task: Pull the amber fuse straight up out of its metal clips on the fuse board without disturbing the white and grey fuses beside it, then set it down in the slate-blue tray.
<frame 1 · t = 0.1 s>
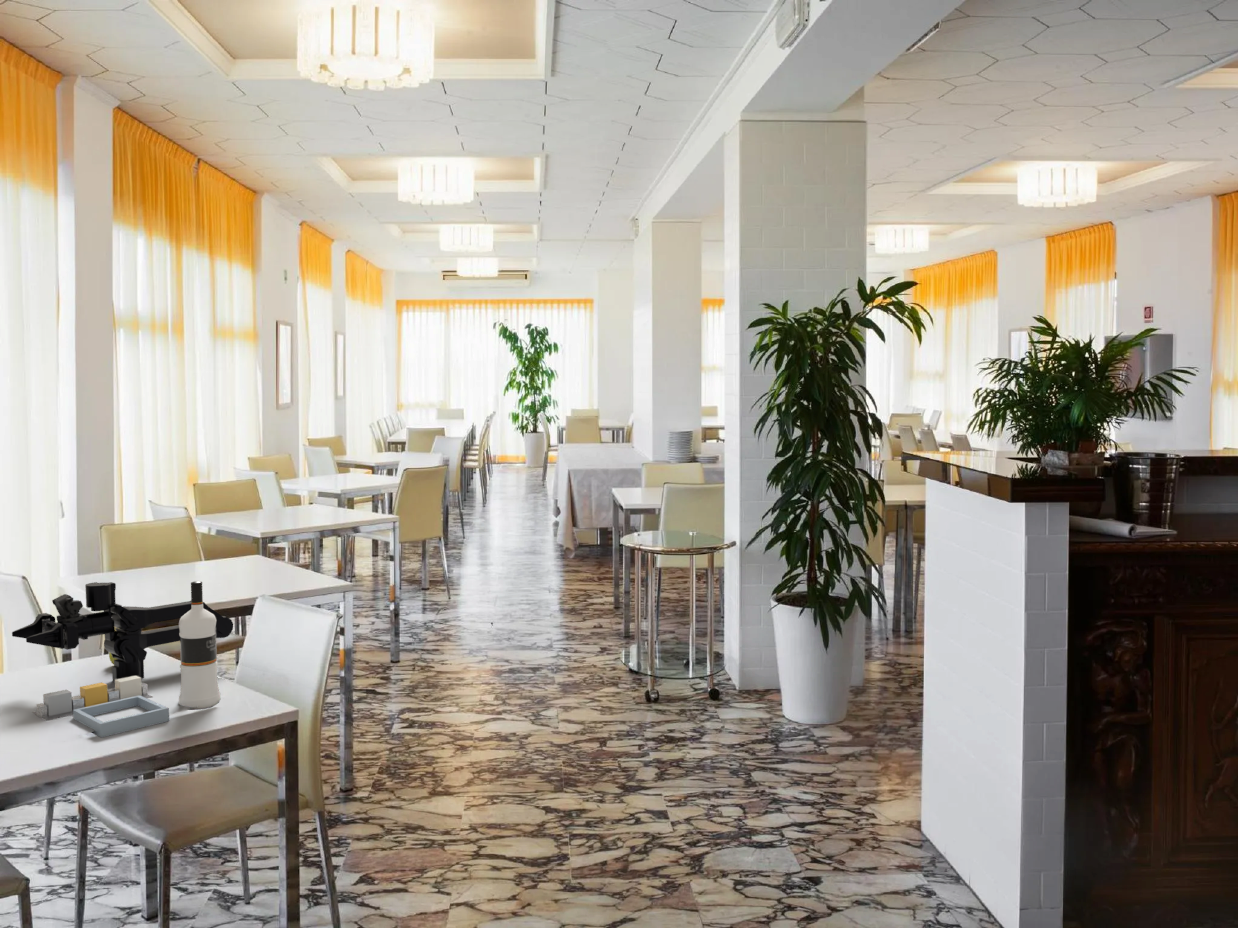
hand: (19, 636, 242), 17 cm above the table, tool horizontal, fingers open, 9 cm apart
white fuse: (128, 696, 247), point 1 cm above the table, touching fuse board
fuse board: (94, 708, 241), on the table
vodka: (200, 705, 244), on the table
grey fuse: (58, 712, 235), point 1 cm above the table, touching fuse board
amber fuse: (94, 704, 241), point 1 cm above the table, touching fuse board
fruit: (123, 666, 279), on the table
tray: (121, 721, 231), on the table
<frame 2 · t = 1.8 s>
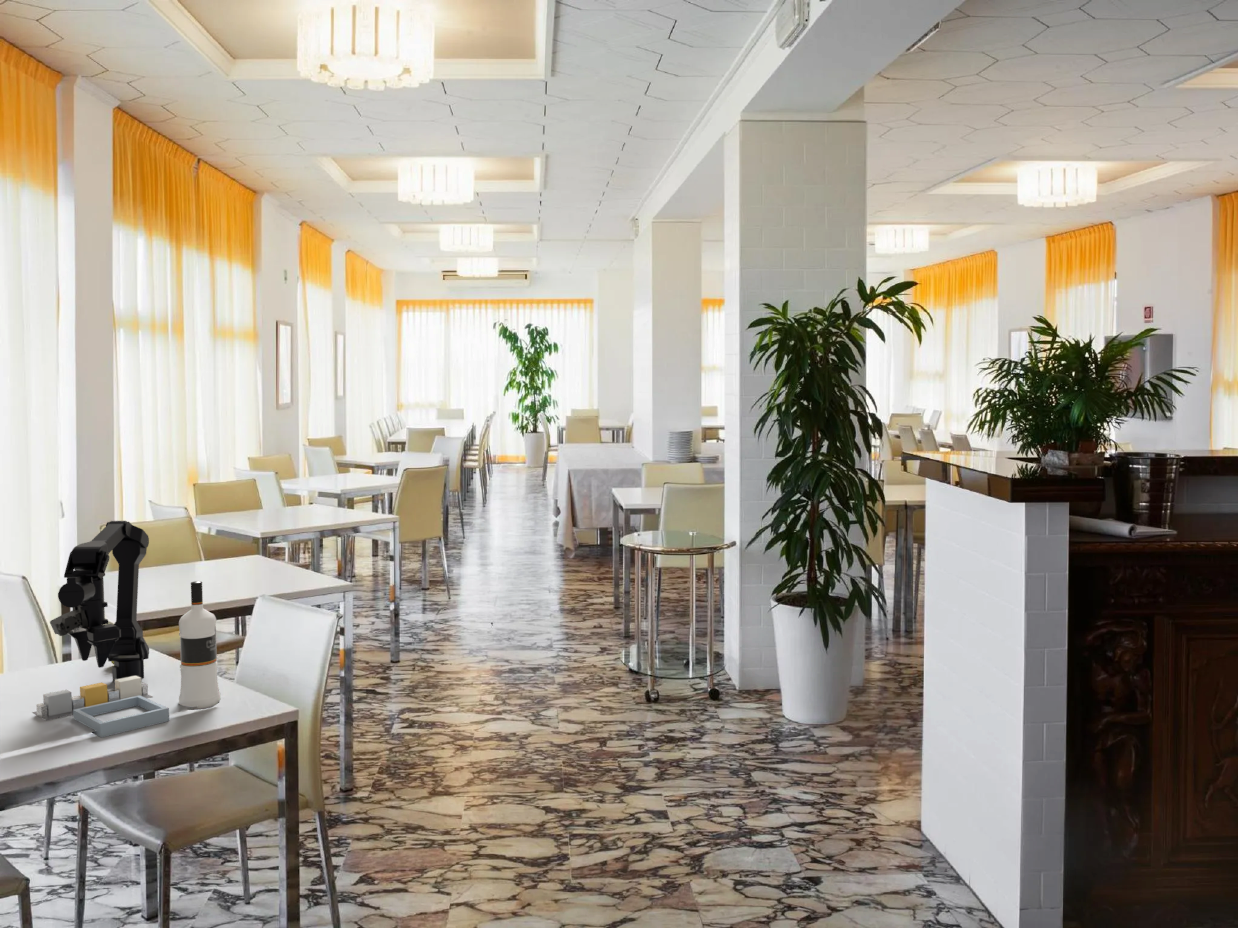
hand: (92, 663, 240), 11 cm above the table, tool pointing down, fingers open, 9 cm apart
nothing on the table moved.
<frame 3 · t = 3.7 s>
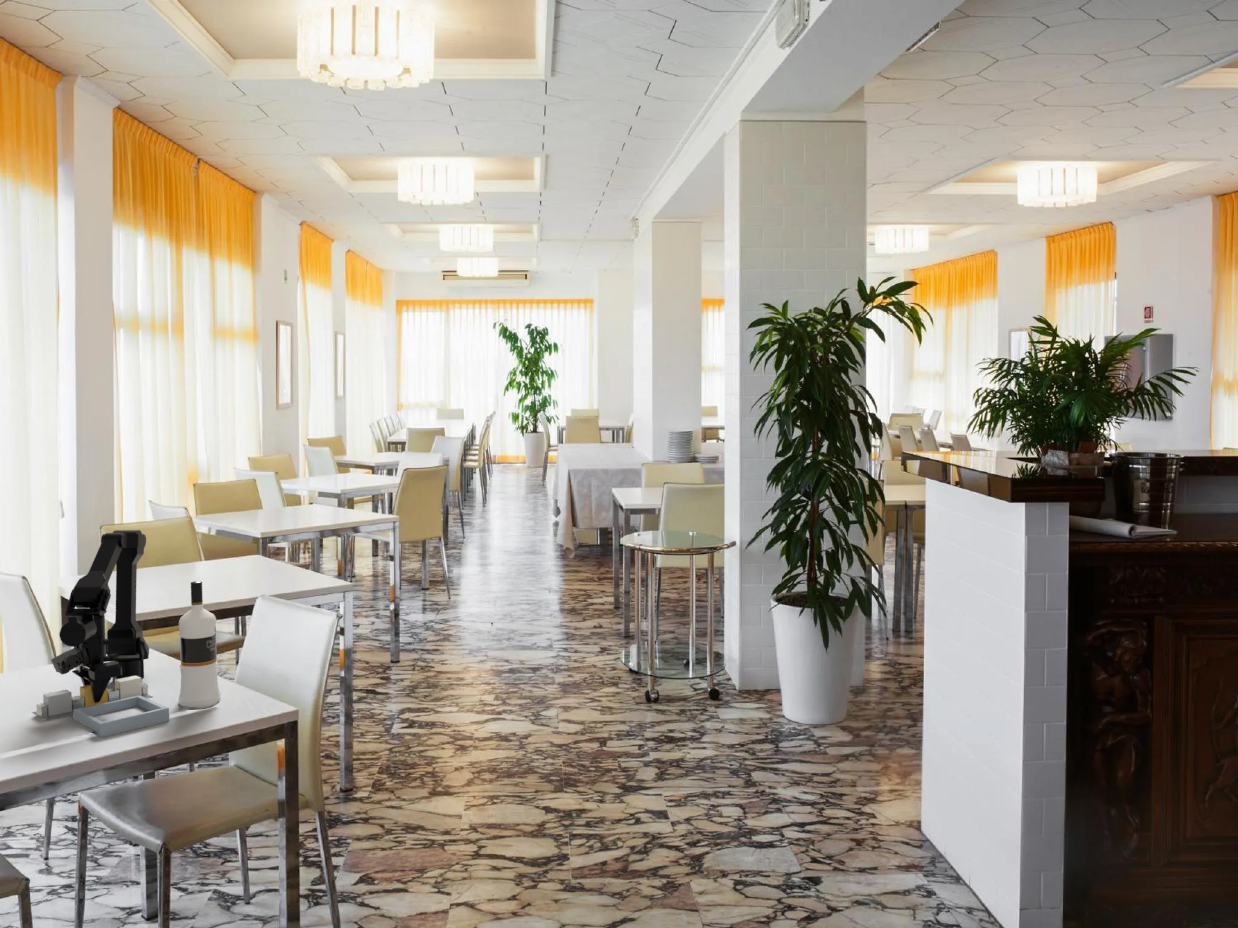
hand: (94, 700, 241), 2 cm above the table, tool pointing down, fingers closed on amber fuse, 3 cm apart
amber fuse: (94, 704, 241), point 1 cm above the table, touching fuse board, gripper
everything else where it was.
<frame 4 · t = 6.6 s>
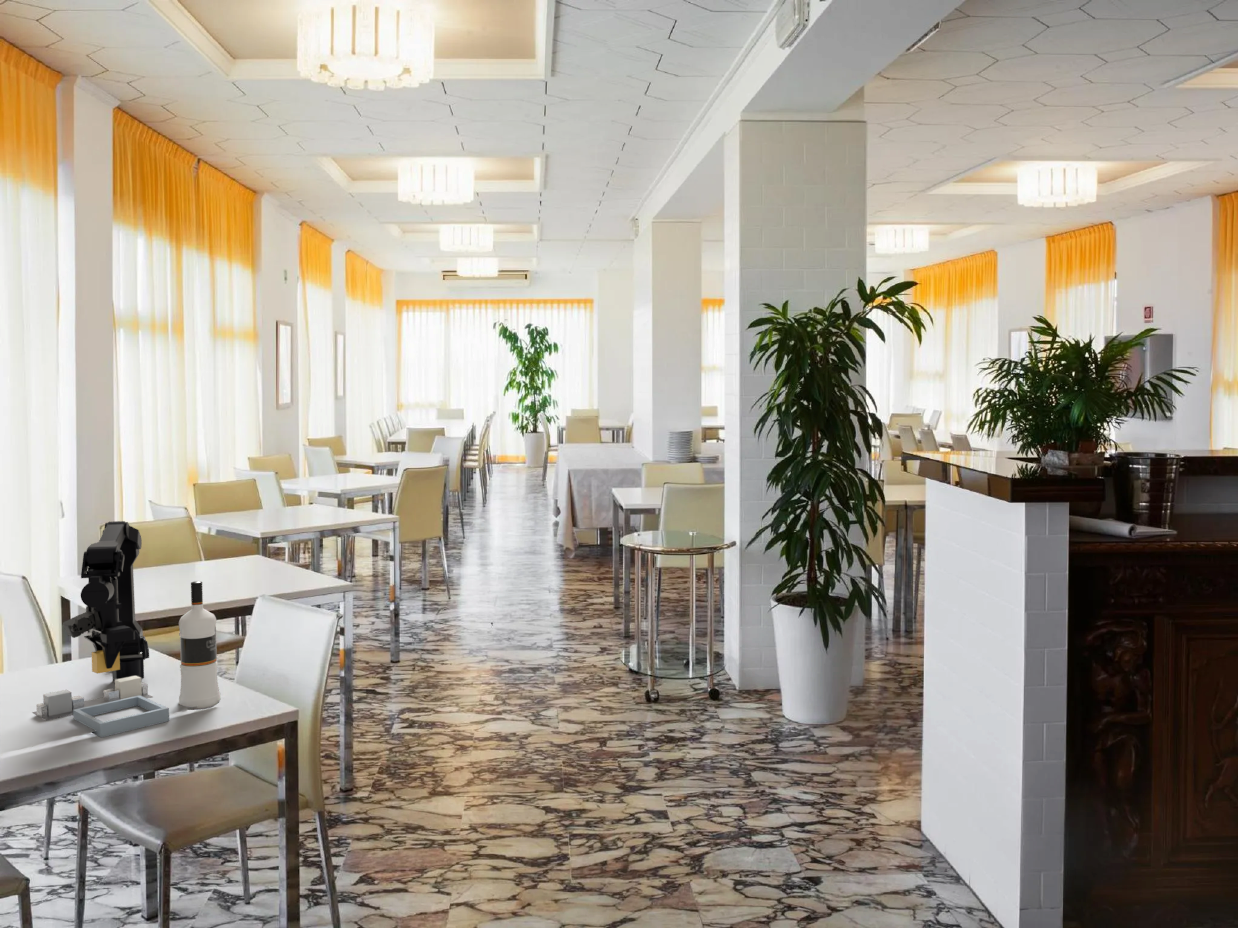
hand: (106, 666, 234), 12 cm above the table, tool pointing down, fingers closed on amber fuse, 3 cm apart
amber fuse: (106, 670, 234), point 11 cm above the table, touching gripper
everything else where it was.
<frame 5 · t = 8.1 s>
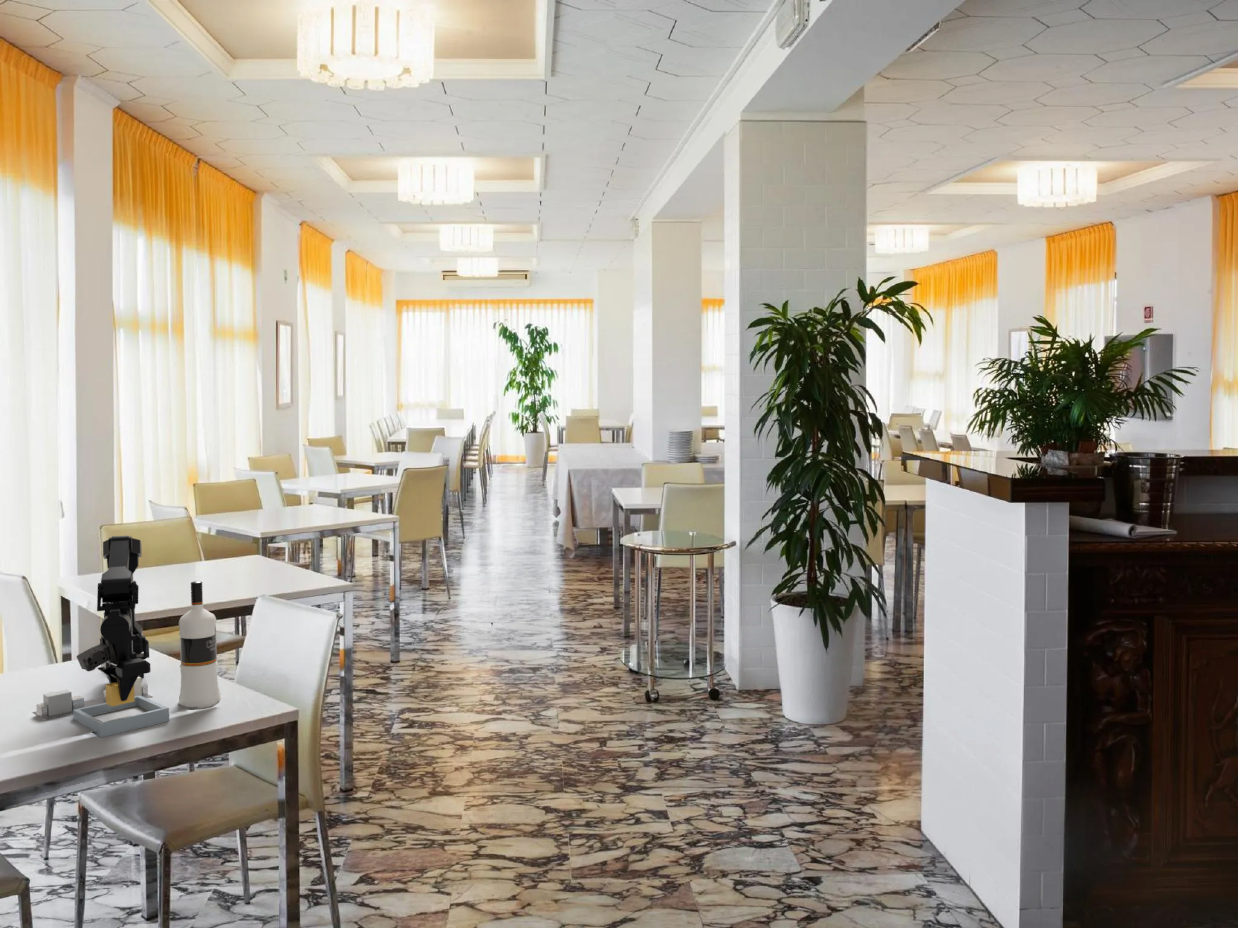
hand: (120, 699, 231), 5 cm above the table, tool pointing down, fingers closed on amber fuse, 3 cm apart
amber fuse: (120, 702, 231), point 4 cm above the table, touching gripper
everything else where it was.
when the fingers open (2 cm above the table, at t = 9.3 s): amber fuse stays where it is, resting on tray.
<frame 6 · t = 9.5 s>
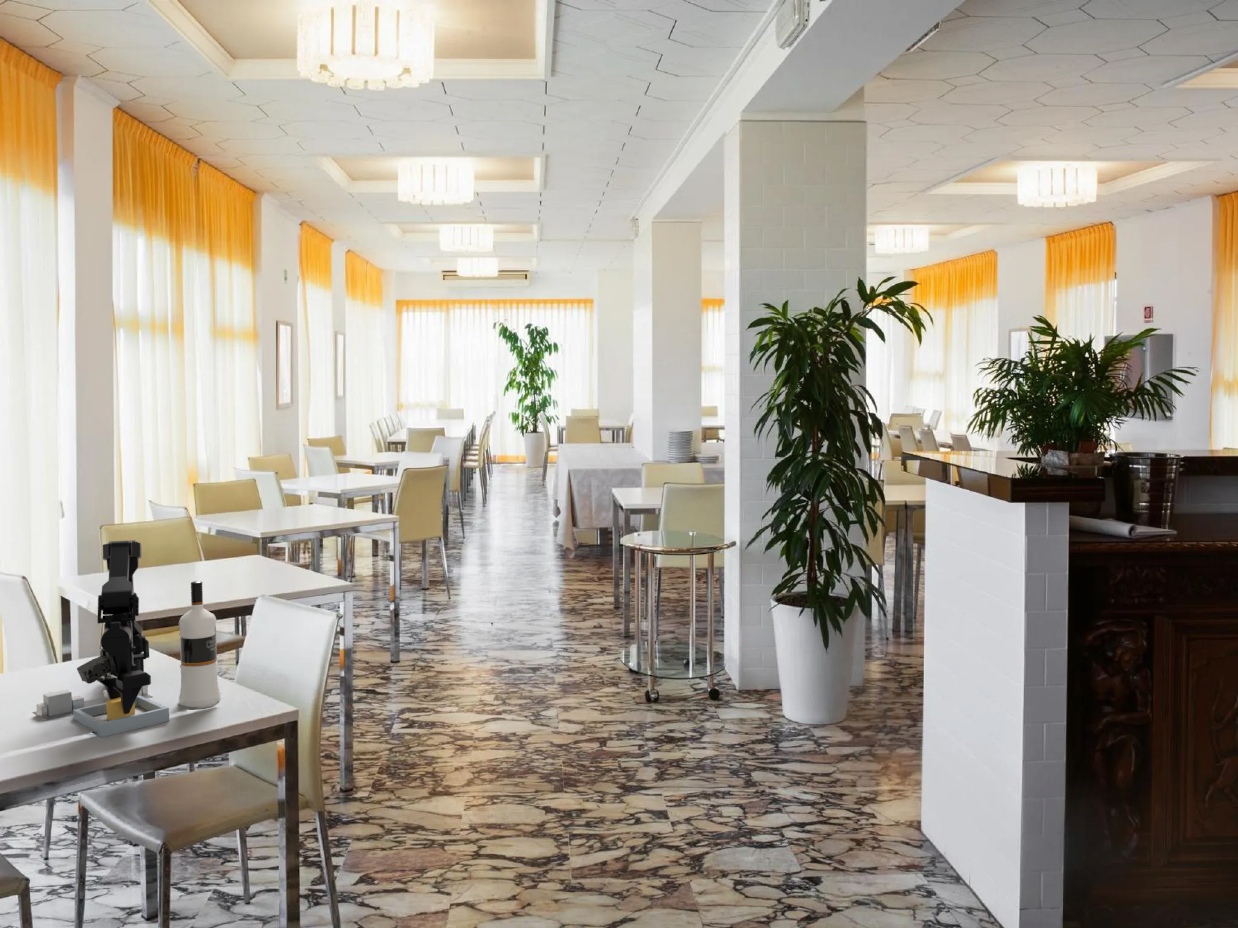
hand: (121, 710, 231), 2 cm above the table, tool pointing down, fingers open, 5 cm apart
amber fuse: (121, 718, 231), point 1 cm above the table, touching tray
everything else where it was.
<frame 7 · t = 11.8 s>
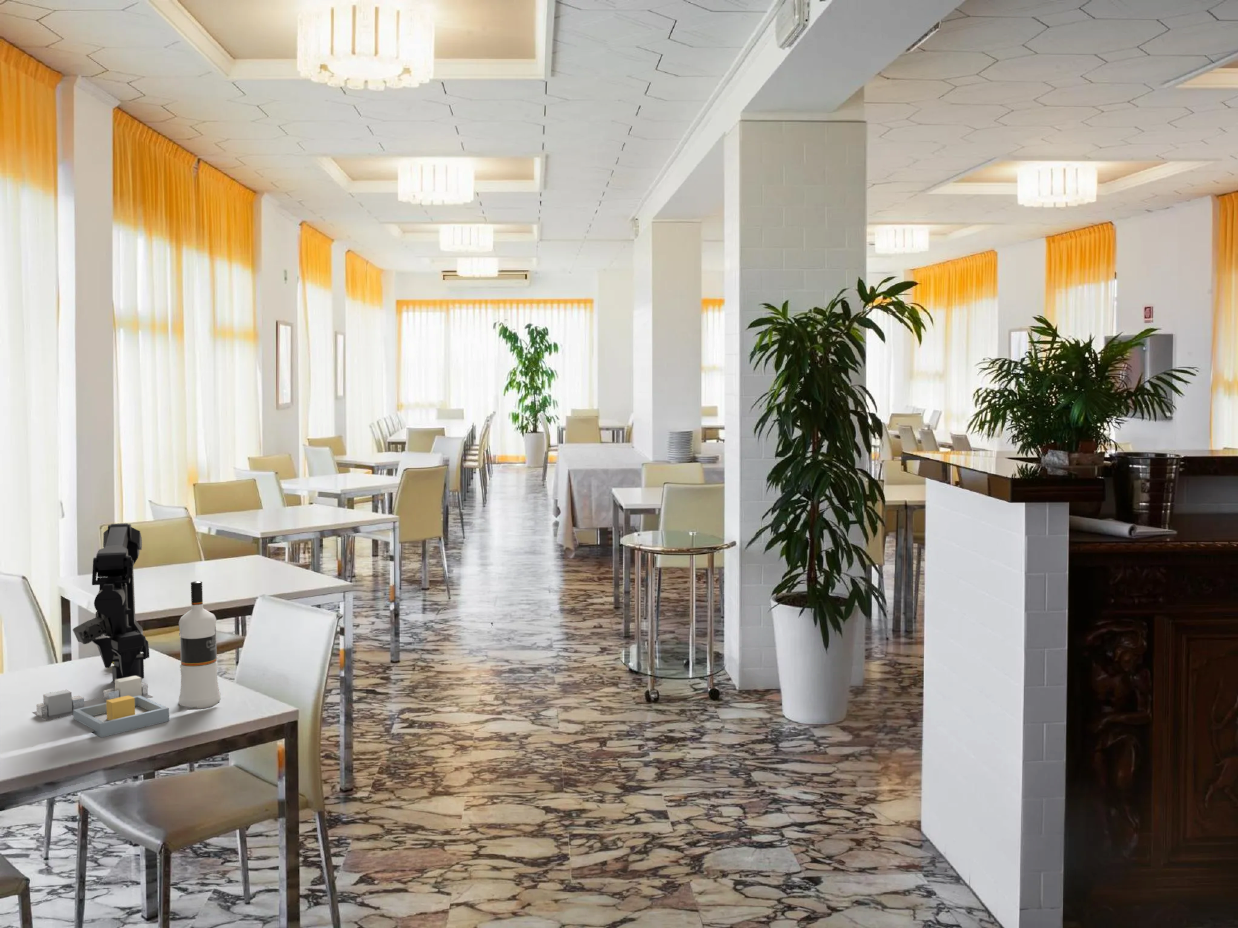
hand: (116, 671, 235), 10 cm above the table, tool pointing down, fingers open, 9 cm apart
nothing on the table moved.
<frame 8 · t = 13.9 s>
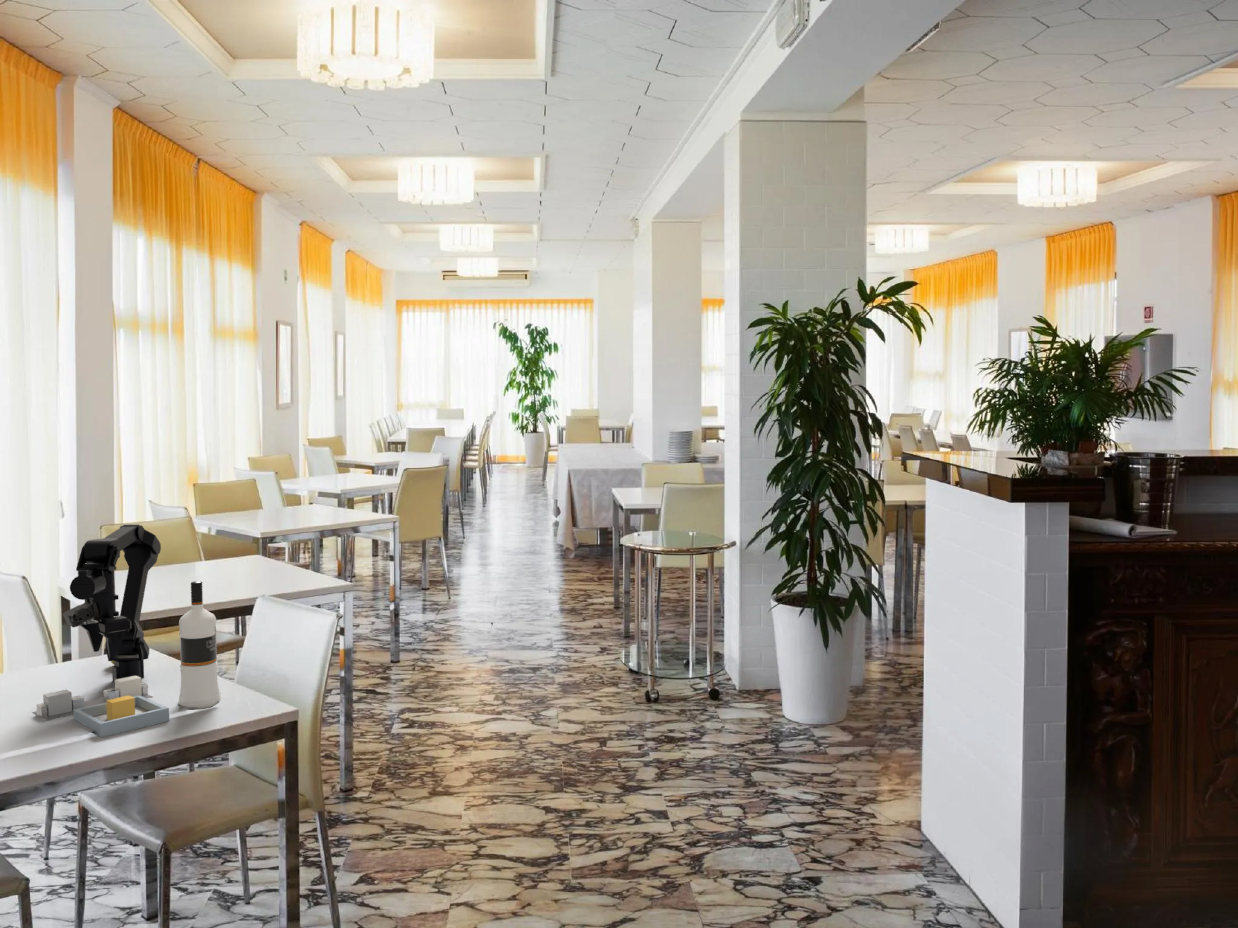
hand: (104, 654, 248), 11 cm above the table, tool pointing down, fingers open, 9 cm apart
nothing on the table moved.
at the end: amber fuse inside the target area on the tray (0.0 cm from its centre), point 0.8 cm above the tray's base; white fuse moved 0.0 cm from its start; grey fuse moved 0.0 cm from its start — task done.
